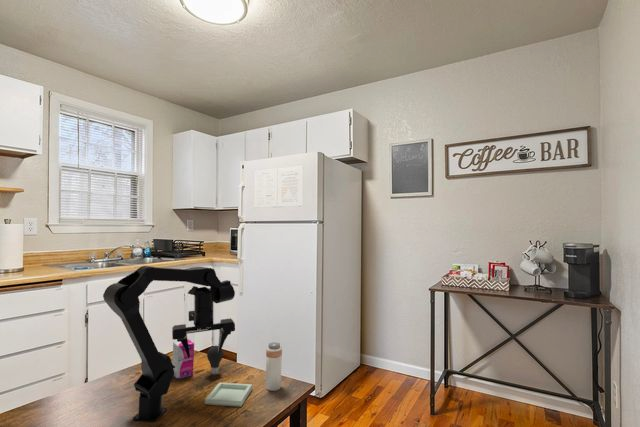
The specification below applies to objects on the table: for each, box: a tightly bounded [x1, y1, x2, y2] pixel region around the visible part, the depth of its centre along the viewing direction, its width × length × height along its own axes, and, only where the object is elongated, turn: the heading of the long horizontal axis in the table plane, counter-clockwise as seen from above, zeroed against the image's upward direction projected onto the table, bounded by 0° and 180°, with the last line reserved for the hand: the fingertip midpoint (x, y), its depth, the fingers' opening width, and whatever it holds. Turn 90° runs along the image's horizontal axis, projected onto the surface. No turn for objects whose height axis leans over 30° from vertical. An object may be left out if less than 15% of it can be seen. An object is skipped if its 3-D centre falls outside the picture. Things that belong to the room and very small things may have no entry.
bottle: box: [265, 341, 283, 392], centre depth 115 cm, size 5×5×14 cm
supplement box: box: [171, 338, 195, 380], centre depth 123 cm, size 6×6×12 cm
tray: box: [204, 382, 253, 408], centre depth 108 cm, size 11×11×2 cm
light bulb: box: [206, 345, 224, 376], centre depth 124 cm, size 6×6×10 cm
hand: (204, 355), depth 110 cm, fingers open, 9 cm apart
